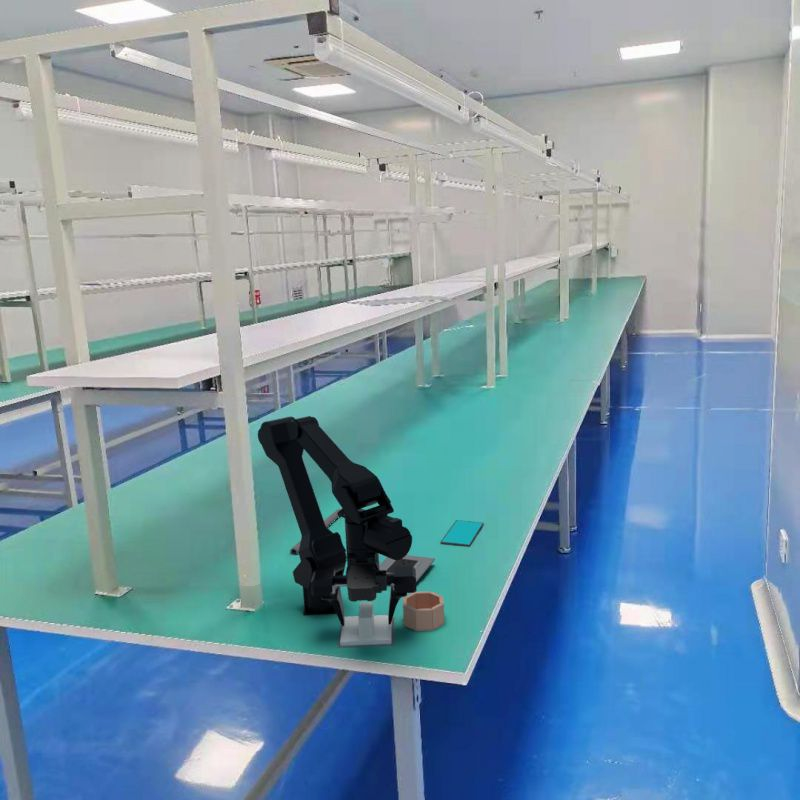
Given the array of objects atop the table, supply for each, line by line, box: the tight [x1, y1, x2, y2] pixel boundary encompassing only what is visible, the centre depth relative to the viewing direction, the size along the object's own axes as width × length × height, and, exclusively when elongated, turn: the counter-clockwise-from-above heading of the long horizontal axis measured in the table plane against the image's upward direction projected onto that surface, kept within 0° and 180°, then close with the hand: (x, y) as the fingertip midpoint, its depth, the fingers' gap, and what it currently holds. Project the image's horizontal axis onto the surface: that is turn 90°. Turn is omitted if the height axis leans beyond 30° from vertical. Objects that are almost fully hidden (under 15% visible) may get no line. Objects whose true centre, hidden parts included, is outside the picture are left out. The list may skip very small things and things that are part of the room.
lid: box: [340, 601, 392, 646], centre depth 132 cm, size 9×9×4 cm
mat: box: [336, 616, 396, 649], centre depth 132 cm, size 10×10×1 cm
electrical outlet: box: [379, 554, 436, 583], centre depth 156 cm, size 13×10×2 cm
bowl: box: [402, 590, 445, 632], centre depth 135 cm, size 8×8×4 cm
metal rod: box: [289, 508, 341, 556], centre depth 182 cm, size 2×27×2 cm, turn 162°
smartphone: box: [440, 520, 485, 548], centre depth 178 cm, size 7×1×15 cm
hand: (366, 624), depth 132 cm, fingers open, 8 cm apart
